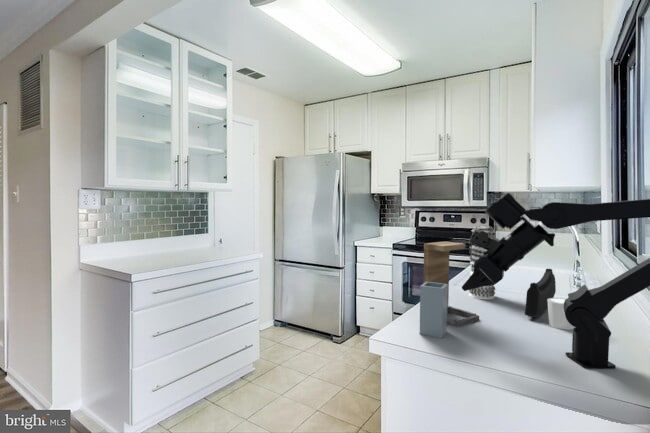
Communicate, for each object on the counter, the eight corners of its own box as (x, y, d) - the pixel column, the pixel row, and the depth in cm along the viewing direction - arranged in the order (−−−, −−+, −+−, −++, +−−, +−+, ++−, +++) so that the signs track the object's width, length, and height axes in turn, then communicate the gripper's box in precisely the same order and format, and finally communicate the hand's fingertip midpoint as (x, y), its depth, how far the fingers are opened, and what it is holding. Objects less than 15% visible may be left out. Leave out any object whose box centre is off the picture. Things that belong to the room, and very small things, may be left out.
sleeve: (446, 331, 95) (447, 284, 95) (441, 338, 91) (442, 288, 90) (425, 327, 98) (426, 281, 98) (419, 333, 93) (420, 285, 93)
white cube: (562, 331, 95) (563, 305, 95) (540, 322, 102) (541, 298, 102) (582, 329, 97) (583, 303, 97) (559, 320, 104) (560, 296, 104)
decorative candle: (496, 301, 124) (498, 227, 122) (467, 297, 128) (468, 226, 126) (496, 294, 132) (498, 226, 131) (469, 291, 136) (470, 225, 135)
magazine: (536, 292, 101) (555, 250, 122) (523, 290, 103) (544, 249, 124) (538, 345, 105) (556, 295, 127) (525, 342, 107) (545, 293, 129)
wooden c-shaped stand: (479, 319, 104) (480, 245, 103) (457, 326, 99) (459, 248, 98) (444, 309, 114) (445, 241, 113) (422, 314, 109) (424, 243, 108)
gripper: (495, 216, 94) (450, 255, 101) (486, 220, 78) (433, 266, 84) (529, 249, 91) (480, 287, 97) (527, 260, 75) (469, 304, 81)
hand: (466, 285), depth 90 cm, fingers open, 9 cm apart
